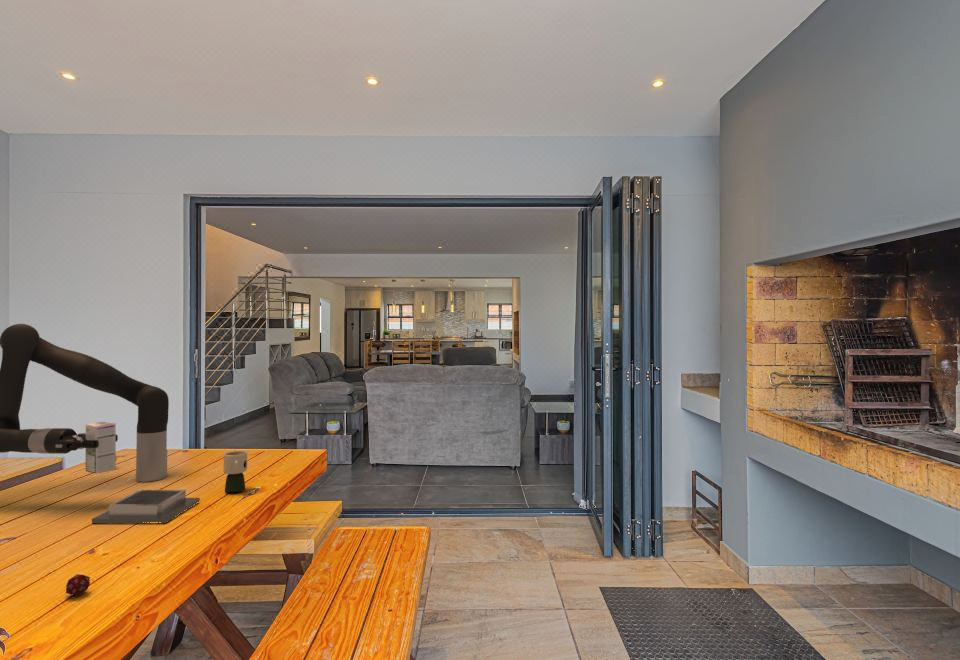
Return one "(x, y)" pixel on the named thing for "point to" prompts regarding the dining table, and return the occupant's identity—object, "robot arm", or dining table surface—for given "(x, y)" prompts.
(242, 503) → the dining table surface
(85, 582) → the dice
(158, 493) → the collar stand
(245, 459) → the beige trophy cup
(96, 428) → the syrup box
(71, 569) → the dining table surface
